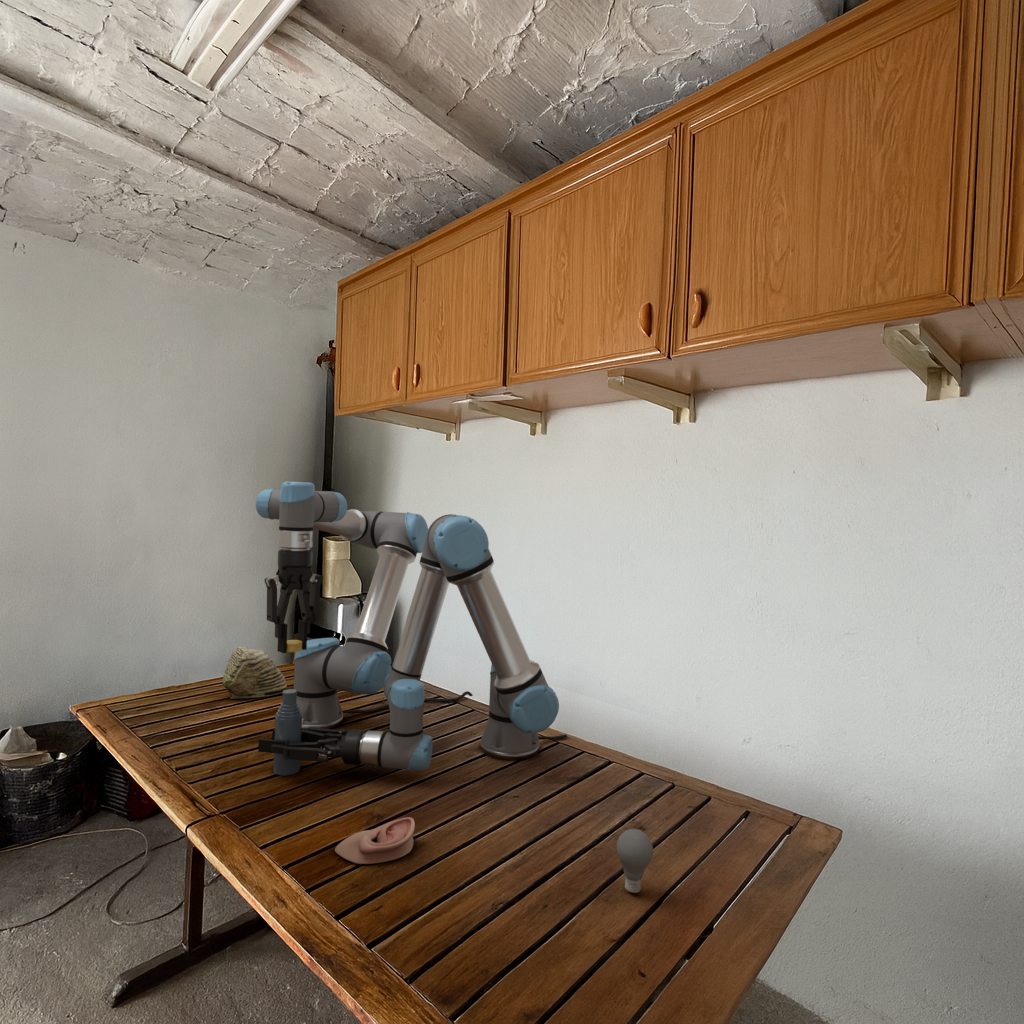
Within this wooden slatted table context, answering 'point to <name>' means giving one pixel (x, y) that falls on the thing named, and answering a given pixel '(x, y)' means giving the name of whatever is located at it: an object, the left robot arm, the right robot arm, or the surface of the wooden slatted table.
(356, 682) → the left robot arm
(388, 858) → the anatomical model
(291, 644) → the cap
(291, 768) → the bottle
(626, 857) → the light bulb
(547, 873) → the wooden slatted table surface
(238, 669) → the fossil
